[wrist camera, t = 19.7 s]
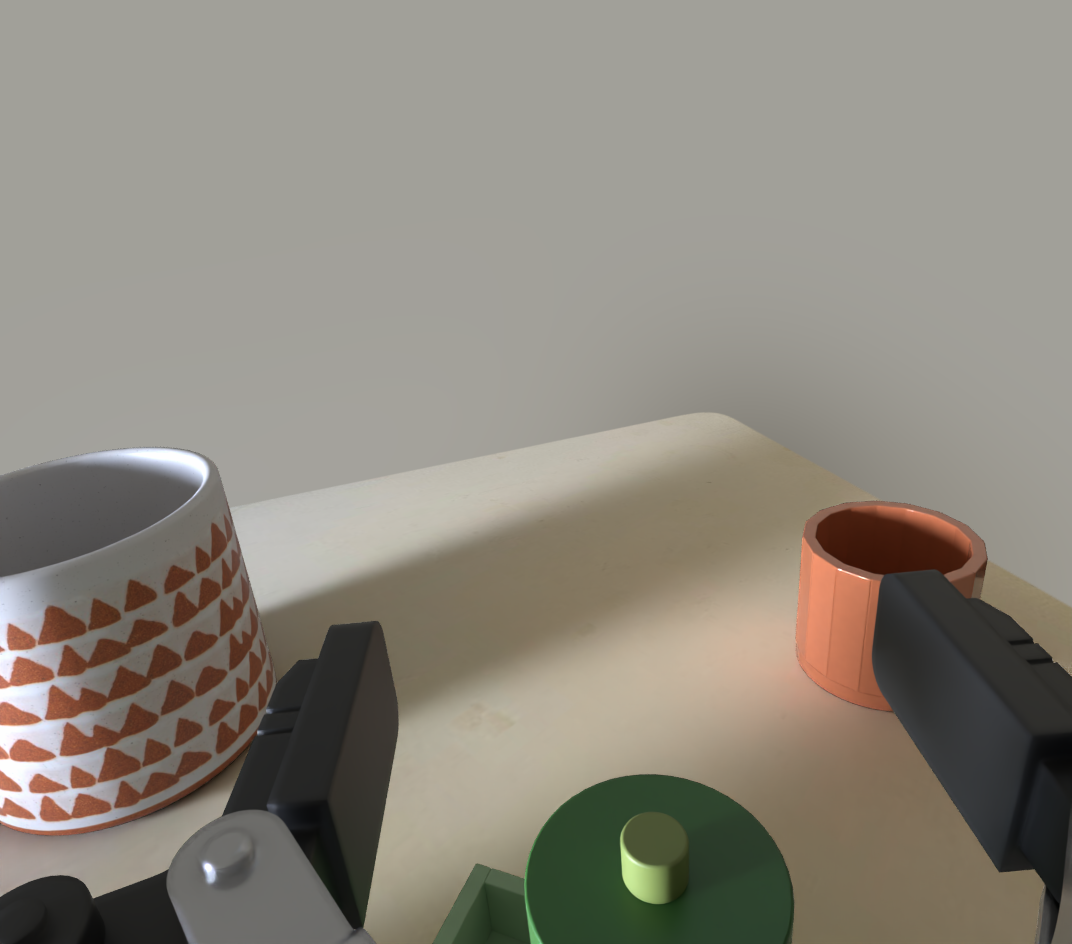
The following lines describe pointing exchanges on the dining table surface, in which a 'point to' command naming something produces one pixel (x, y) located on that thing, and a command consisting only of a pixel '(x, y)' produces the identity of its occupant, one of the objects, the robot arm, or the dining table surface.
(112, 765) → the planter
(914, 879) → the dining table surface
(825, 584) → the crock
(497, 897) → the tray
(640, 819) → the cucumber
